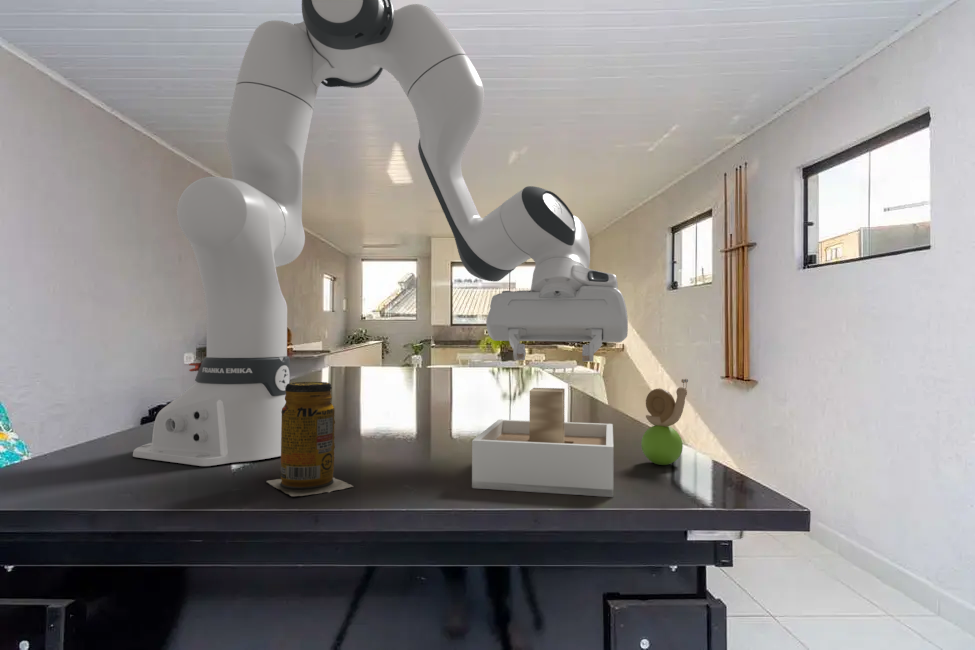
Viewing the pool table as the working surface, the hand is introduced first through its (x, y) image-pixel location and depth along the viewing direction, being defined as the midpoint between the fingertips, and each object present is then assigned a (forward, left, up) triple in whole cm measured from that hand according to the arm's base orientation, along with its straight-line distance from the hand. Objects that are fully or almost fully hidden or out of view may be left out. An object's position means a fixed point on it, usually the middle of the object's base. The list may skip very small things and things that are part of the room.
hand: (552, 358), depth 78 cm
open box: (0, -6, -15) cm, 16 cm away
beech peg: (0, -6, -14) cm, 15 cm away
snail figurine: (+15, +3, -15) cm, 21 cm away
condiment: (-27, -17, -15) cm, 35 cm away
